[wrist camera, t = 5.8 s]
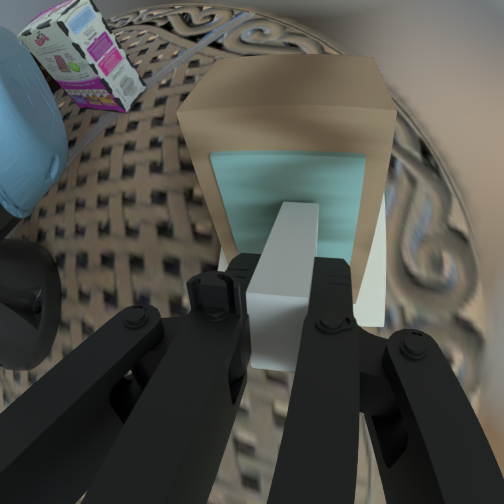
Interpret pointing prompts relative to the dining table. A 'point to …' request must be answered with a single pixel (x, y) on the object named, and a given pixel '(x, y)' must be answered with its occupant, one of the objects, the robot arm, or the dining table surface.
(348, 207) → the tan box
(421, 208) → the dining table surface
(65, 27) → the candy bar box
